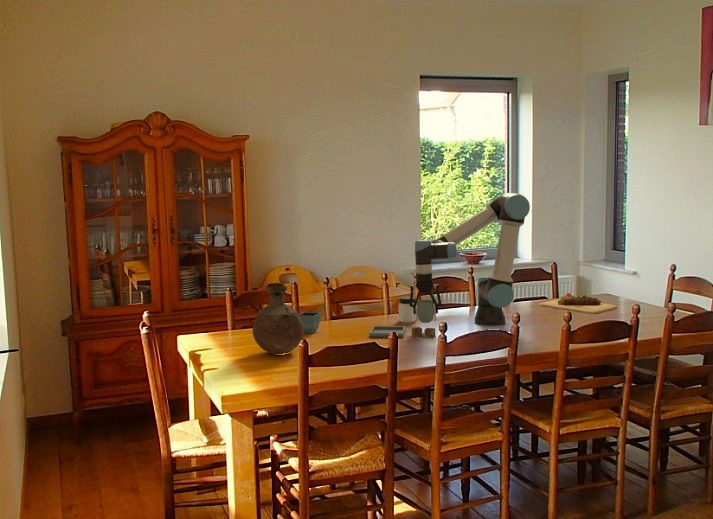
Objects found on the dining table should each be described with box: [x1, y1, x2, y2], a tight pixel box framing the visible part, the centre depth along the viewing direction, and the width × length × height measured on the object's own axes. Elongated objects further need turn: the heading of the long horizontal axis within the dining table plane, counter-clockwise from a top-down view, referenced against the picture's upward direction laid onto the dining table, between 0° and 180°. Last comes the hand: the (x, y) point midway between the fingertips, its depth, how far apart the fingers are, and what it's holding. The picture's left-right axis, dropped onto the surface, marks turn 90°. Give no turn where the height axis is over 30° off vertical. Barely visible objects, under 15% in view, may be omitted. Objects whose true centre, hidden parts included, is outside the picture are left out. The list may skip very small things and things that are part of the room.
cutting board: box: [538, 291, 618, 315], centre depth 415 cm, size 35×23×8 cm
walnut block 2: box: [423, 327, 436, 339], centre depth 351 cm, size 4×4×4 cm
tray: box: [368, 325, 407, 339], centre depth 360 cm, size 16×16×2 cm
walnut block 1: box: [411, 326, 423, 339], centre depth 353 cm, size 4×4×4 cm
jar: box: [398, 295, 417, 323], centre depth 388 cm, size 9×8×12 cm
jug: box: [251, 282, 304, 355], centre depth 326 cm, size 22×22×30 cm
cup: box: [416, 299, 435, 324], centre depth 362 cm, size 8×8×10 cm
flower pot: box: [298, 311, 321, 334], centre depth 367 cm, size 9×9×9 cm
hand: (426, 320), depth 362 cm, fingers closed on cup, 8 cm apart
